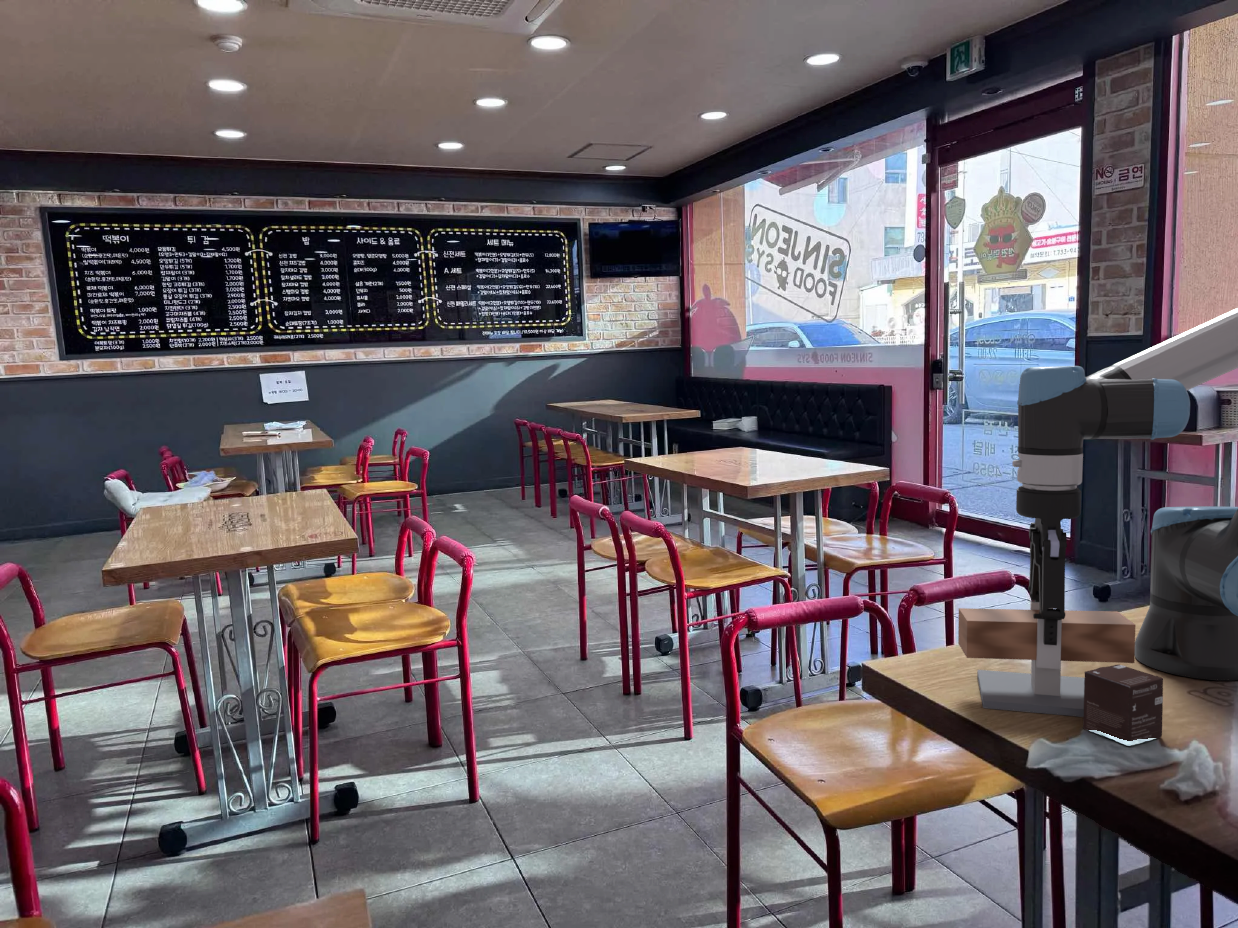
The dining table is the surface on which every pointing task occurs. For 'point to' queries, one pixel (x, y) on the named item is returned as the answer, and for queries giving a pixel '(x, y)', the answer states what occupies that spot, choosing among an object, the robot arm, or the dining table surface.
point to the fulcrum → (1032, 691)
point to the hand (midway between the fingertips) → (1044, 657)
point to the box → (1123, 702)
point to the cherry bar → (1017, 635)
